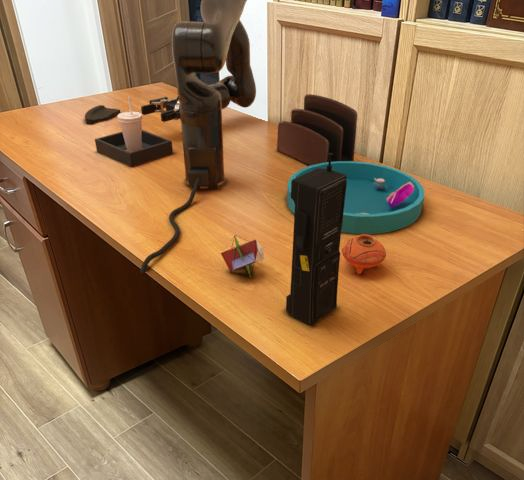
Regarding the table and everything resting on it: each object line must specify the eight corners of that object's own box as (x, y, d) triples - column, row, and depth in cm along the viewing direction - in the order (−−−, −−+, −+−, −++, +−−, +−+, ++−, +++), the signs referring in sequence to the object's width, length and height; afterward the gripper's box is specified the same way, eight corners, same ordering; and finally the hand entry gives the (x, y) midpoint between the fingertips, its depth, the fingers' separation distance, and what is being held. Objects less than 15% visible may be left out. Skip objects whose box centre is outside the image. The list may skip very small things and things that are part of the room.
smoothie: (144, 157, 141) (137, 100, 132) (120, 156, 141) (111, 100, 132) (149, 148, 145) (142, 93, 136) (125, 148, 146) (117, 93, 137)
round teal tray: (424, 240, 107) (430, 213, 103) (277, 226, 111) (278, 199, 107) (418, 182, 129) (423, 157, 126) (296, 172, 133) (297, 148, 130)
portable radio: (309, 330, 84) (322, 176, 68) (280, 315, 87) (286, 164, 71) (338, 309, 88) (357, 159, 72) (309, 295, 91) (321, 149, 75)
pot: (374, 252, 102) (383, 224, 97) (385, 281, 98) (395, 254, 92) (334, 253, 101) (340, 225, 96) (343, 283, 97) (350, 255, 91)
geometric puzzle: (213, 272, 93) (240, 238, 89) (212, 252, 98) (238, 219, 94) (246, 291, 96) (274, 259, 92) (244, 271, 101) (269, 240, 97)
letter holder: (304, 143, 150) (307, 89, 141) (353, 164, 138) (360, 107, 129) (276, 150, 145) (277, 95, 136) (325, 173, 133) (330, 114, 124)
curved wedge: (73, 122, 163) (72, 116, 162) (100, 110, 172) (99, 104, 171) (96, 125, 160) (95, 119, 159) (122, 113, 170) (121, 107, 169)
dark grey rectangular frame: (173, 153, 143) (171, 140, 141) (131, 167, 135) (129, 153, 133) (138, 139, 151) (136, 127, 149) (96, 151, 143) (94, 139, 141)
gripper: (180, 83, 152) (133, 93, 143) (214, 92, 144) (167, 104, 135) (182, 110, 157) (137, 122, 148) (215, 121, 149) (170, 134, 140)
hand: (151, 114), depth 141 cm, fingers open, 8 cm apart
